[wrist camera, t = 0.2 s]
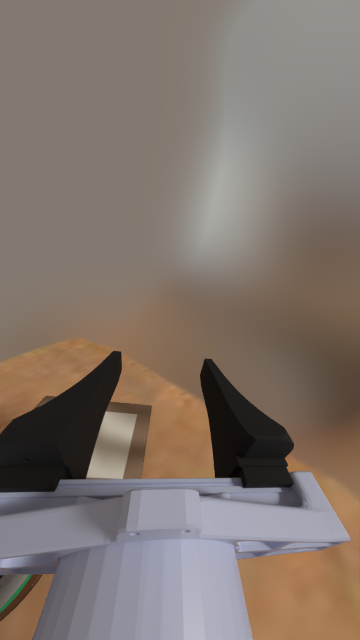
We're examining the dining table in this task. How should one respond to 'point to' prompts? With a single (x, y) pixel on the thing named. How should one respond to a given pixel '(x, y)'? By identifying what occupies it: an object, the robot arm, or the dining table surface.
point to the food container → (15, 591)
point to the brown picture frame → (119, 442)
